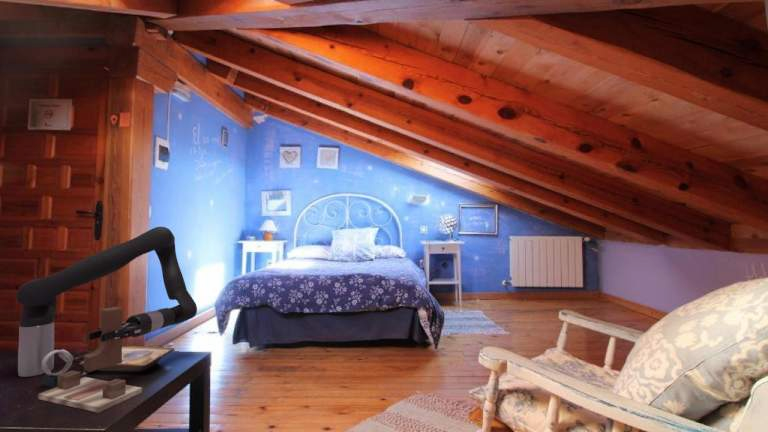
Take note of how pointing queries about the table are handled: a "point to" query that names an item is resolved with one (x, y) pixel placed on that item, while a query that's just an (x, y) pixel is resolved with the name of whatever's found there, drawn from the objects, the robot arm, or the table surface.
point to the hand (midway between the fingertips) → (95, 337)
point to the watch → (52, 378)
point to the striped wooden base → (89, 392)
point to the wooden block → (106, 342)
